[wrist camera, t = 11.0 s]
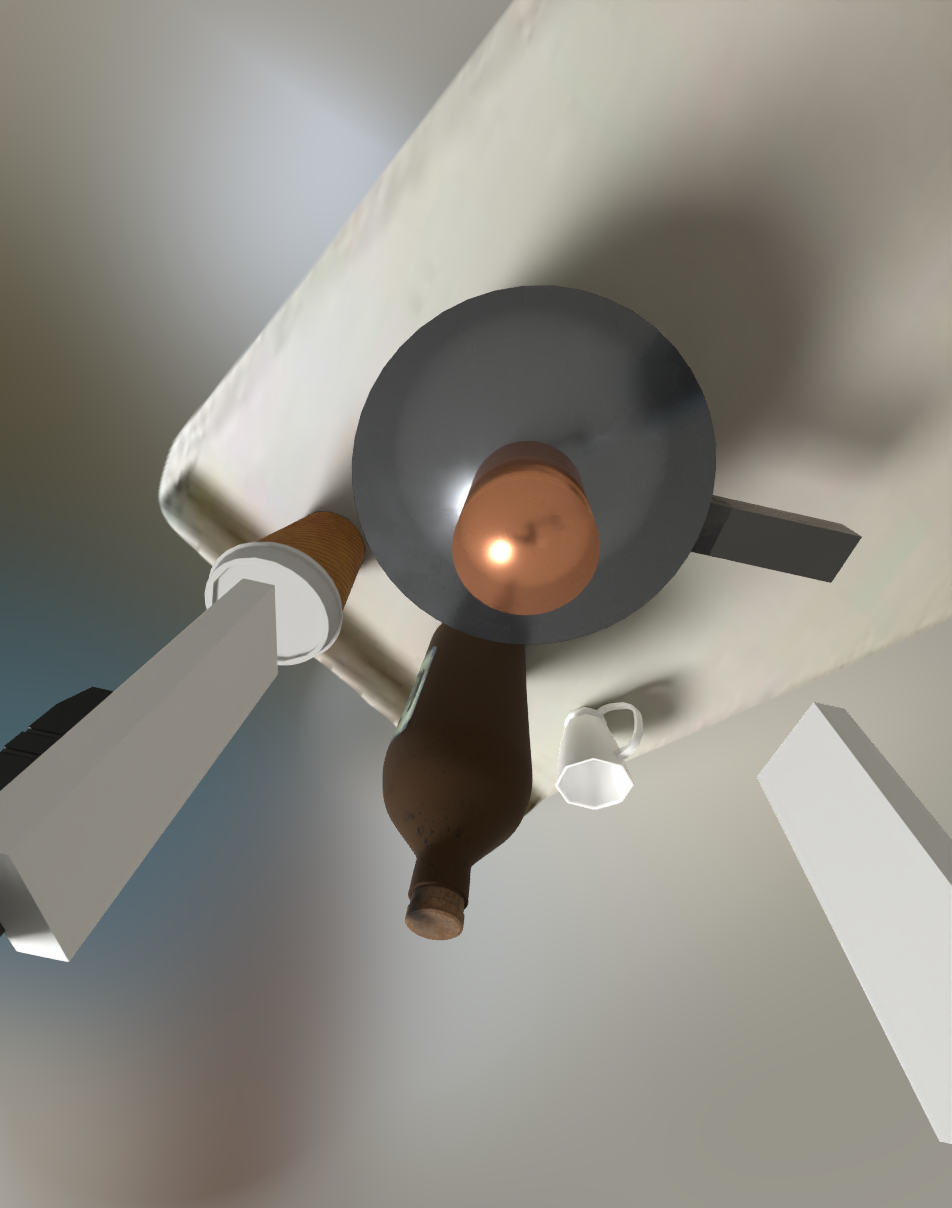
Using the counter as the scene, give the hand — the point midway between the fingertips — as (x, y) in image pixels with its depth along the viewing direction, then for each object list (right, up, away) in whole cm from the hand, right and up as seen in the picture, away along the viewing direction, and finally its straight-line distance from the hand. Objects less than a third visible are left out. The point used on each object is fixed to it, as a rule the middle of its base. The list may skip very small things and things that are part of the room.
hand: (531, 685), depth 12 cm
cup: (+11, -9, +38) cm, 41 cm away
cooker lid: (+1, +8, +14) cm, 17 cm away
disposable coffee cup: (-14, +7, +31) cm, 35 cm away
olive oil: (-1, -2, +35) cm, 35 cm away
